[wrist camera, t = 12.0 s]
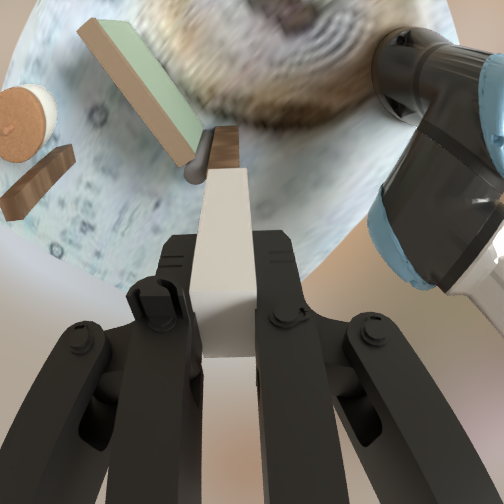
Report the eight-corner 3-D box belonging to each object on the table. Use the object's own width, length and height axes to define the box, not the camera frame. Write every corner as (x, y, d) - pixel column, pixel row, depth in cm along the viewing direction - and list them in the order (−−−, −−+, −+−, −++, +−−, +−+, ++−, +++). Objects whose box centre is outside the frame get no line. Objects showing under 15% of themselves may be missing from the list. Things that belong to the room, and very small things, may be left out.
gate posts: (238, 125, 40) (239, 173, 27) (238, 145, 42) (240, 203, 29) (56, 147, 39) (-3, 200, 26) (60, 164, 41) (6, 221, 28)
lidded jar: (31, 153, 39) (0, 180, 32) (6, 99, 32) (-31, 118, 25) (79, 124, 37) (48, 148, 30) (53, 63, 31) (16, 75, 24)
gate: (217, 140, 41) (211, 177, 31) (202, 149, 41) (192, 188, 32) (131, 19, 29) (92, 16, 19) (116, 31, 29) (74, 32, 20)
